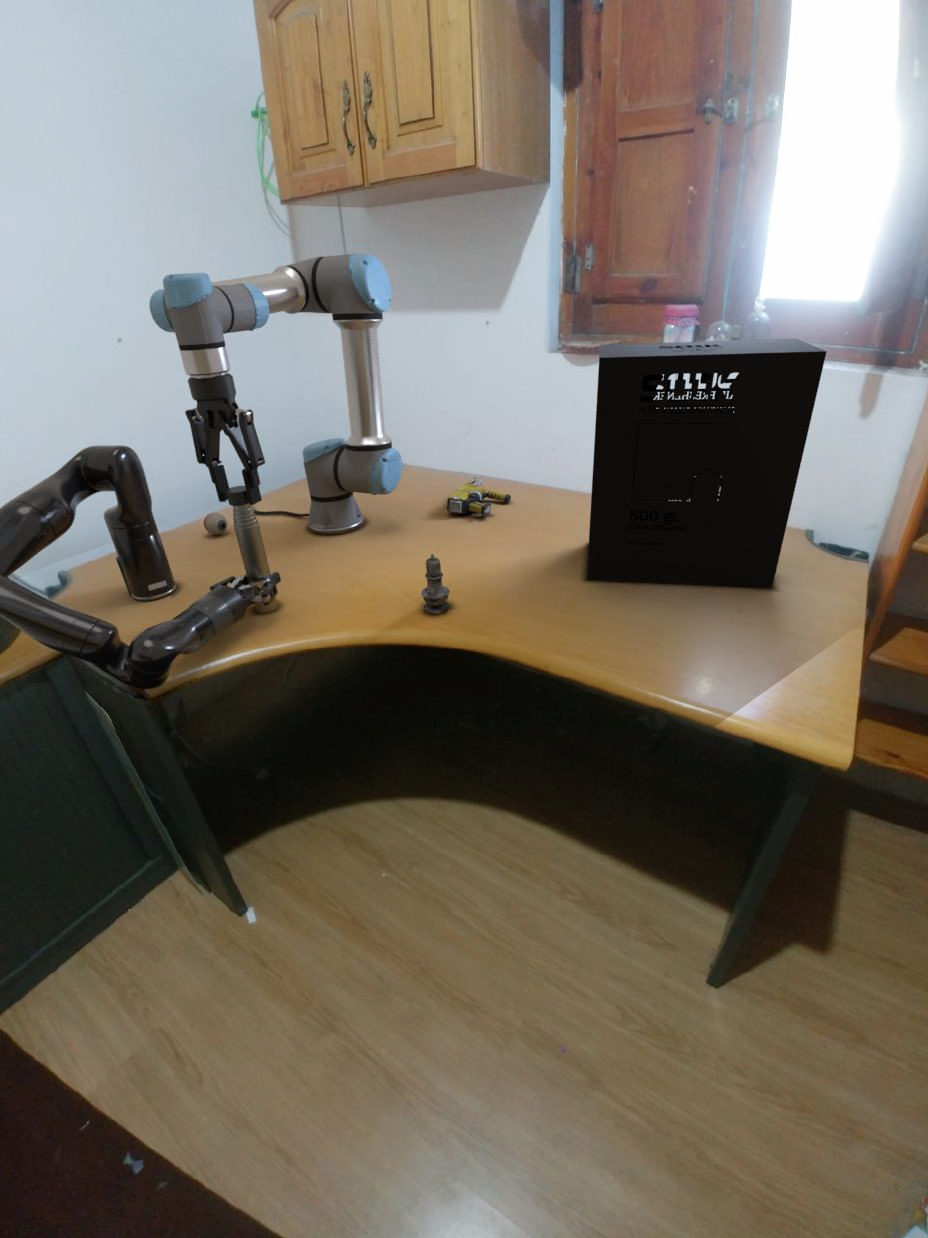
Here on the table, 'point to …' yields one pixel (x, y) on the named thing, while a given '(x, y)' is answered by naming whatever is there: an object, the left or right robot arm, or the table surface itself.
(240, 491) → the cap
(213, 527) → the eyeball
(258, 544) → the bottle
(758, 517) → the cardboard box
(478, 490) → the toy gun
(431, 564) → the grey metal turned piece
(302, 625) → the table surface
